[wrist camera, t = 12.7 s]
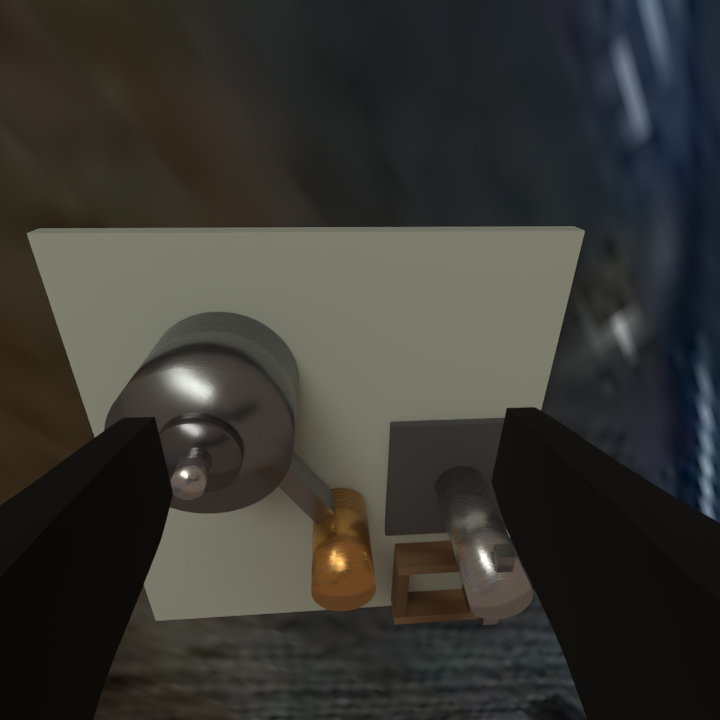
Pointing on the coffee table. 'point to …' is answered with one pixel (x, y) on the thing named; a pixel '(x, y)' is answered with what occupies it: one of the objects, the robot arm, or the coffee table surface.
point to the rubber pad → (434, 468)
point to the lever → (334, 539)
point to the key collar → (426, 603)
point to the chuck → (218, 409)
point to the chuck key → (482, 547)
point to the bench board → (315, 365)
